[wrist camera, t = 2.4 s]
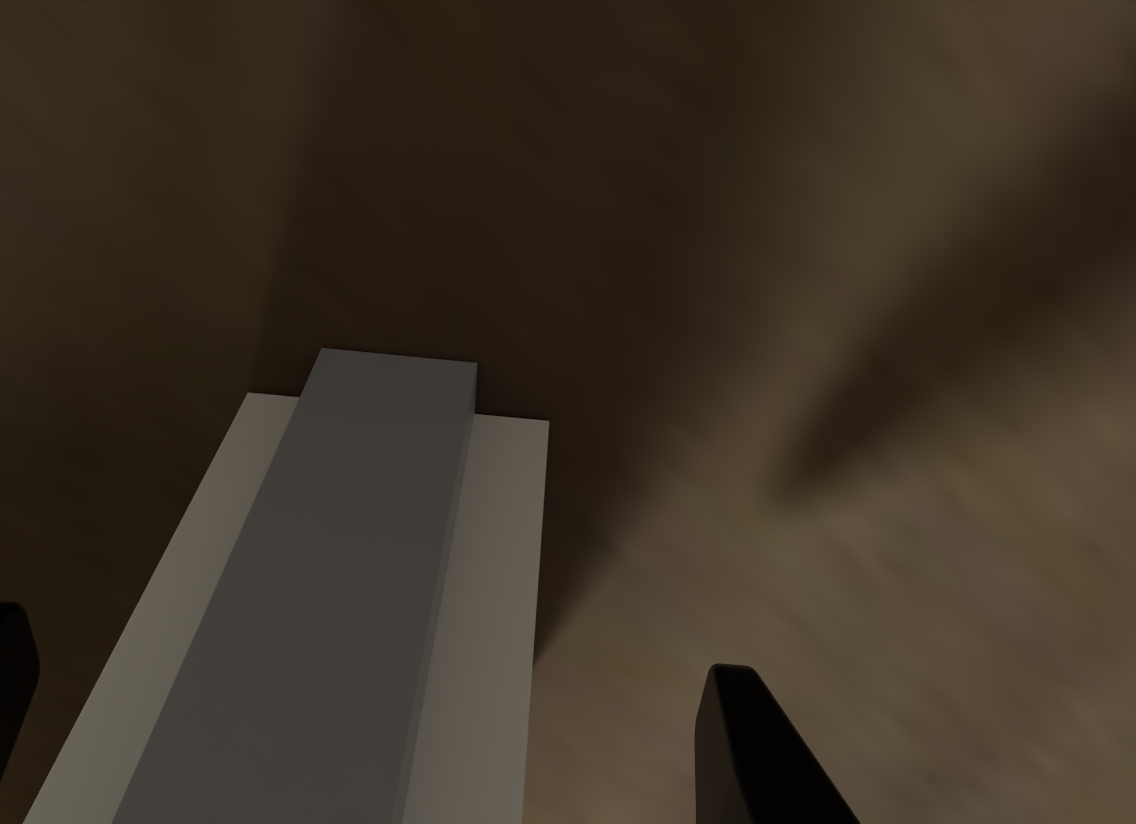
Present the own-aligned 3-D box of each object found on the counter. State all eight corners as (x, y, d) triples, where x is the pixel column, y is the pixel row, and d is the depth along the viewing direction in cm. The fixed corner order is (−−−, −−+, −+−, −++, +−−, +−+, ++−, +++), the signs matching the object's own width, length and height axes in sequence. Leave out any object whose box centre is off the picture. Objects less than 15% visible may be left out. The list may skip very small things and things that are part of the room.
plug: (520, 687, 12) (469, 1333, 7) (273, 666, 12) (54, 1306, 7) (554, 369, 10) (511, 1034, 5) (243, 339, 10) (-130, 987, 5)
